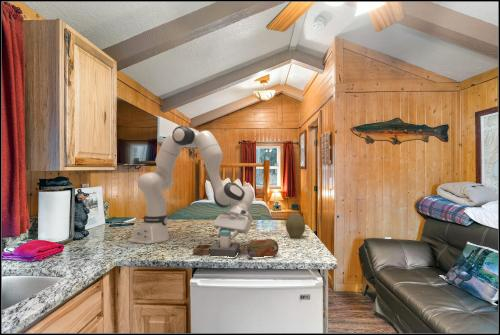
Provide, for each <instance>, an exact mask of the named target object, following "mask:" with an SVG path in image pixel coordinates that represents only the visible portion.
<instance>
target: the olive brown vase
mask: <svg viewBox="0 0 500 335" xmlns="http://www.w3.org/2000/svg"><path fill="white" fill-rule="evenodd" d="M285 229H286V232H287V234H288V235H289V236H290V237H292V238H295V239H297V238H298V239H299V238H300V237H302V236H303V234H304V233H305V230H306V223H305V219H304V217H303V216H302V214H301V213H299V212H297V211H296V212H291V213H290V214H289V215H288V216H287V218H286V221H285Z"/></svg>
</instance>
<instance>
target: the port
mask: <svg viewBox="0 0 500 335" xmlns="http://www.w3.org/2000/svg"><path fill="white" fill-rule="evenodd" d="M212 245H213V246H212V247H211V248H210V255H209V257H210V256H227V257H228V256H229V257H235V256H236V255H237V253H238V252H239V250H240V251H241V242H236V241H235V242H233V241H231V247H230V248H223V247H220V241H216V242H215V243H214V244H212ZM239 253H240V252H239ZM237 256H238V255H237Z"/></svg>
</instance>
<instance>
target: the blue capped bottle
mask: <svg viewBox="0 0 500 335" xmlns="http://www.w3.org/2000/svg"><path fill="white" fill-rule="evenodd" d="M230 235H232V234H231V230H222V231H221V232H220V237H219V242H220V247H223V248H230V247H231V242H232V241H231V239H230V238H229V237H230Z"/></svg>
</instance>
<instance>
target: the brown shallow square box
mask: <svg viewBox="0 0 500 335" xmlns="http://www.w3.org/2000/svg"><path fill="white" fill-rule="evenodd" d="M213 245H214V244H207V243H205V244H204V243H203V244H202V243H201V244H200V243H199V244H197V245H196V246H195V247H193V248H192V255H193V256H200V255H209V254H210V248H211V247H212V246H213ZM209 256H210V255H209Z"/></svg>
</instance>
